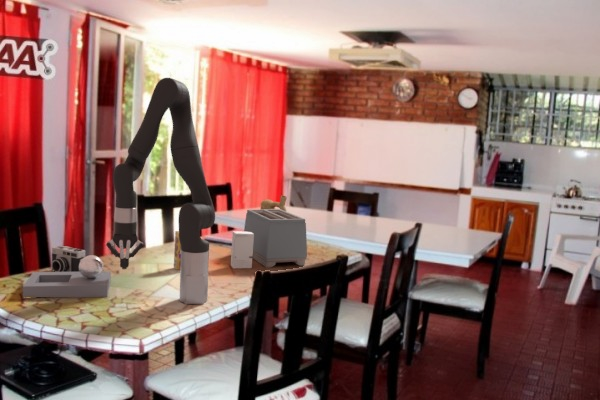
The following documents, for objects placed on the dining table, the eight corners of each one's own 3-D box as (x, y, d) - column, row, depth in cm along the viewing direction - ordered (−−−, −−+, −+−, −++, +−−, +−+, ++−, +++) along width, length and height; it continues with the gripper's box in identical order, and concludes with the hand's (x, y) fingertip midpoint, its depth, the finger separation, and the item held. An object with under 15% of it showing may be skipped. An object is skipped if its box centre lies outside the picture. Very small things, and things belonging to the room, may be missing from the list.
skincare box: (232, 269, 240) (234, 233, 238) (230, 265, 246) (231, 230, 244) (252, 268, 243) (254, 233, 241) (249, 265, 248) (251, 230, 246)
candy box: (177, 270, 233) (178, 232, 231) (173, 267, 237) (174, 230, 235) (198, 268, 238) (199, 231, 236) (193, 265, 242) (195, 229, 240)
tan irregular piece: (273, 237, 310) (275, 191, 307) (296, 244, 295) (299, 195, 292) (246, 240, 299) (249, 192, 296) (269, 247, 284) (272, 197, 281)
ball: (102, 281, 199) (102, 258, 198) (77, 281, 197) (77, 258, 196) (104, 274, 206) (104, 252, 205) (80, 275, 204) (80, 252, 203)
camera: (42, 272, 220) (43, 246, 219) (63, 268, 228) (64, 243, 227) (65, 279, 213) (66, 252, 212) (86, 275, 220) (87, 249, 219)
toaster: (276, 248, 283) (278, 207, 281) (307, 266, 252) (309, 219, 250) (238, 250, 275) (240, 207, 273) (266, 268, 244) (268, 220, 242)
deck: (107, 296, 195) (107, 285, 194) (22, 298, 188) (22, 286, 188) (110, 281, 212) (110, 271, 212) (33, 283, 206) (33, 272, 205)
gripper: (104, 221, 197) (103, 271, 199) (145, 222, 200) (143, 271, 202) (106, 217, 204) (105, 265, 207) (145, 218, 207) (144, 265, 210)
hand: (124, 268), depth 204 cm, fingers closed
